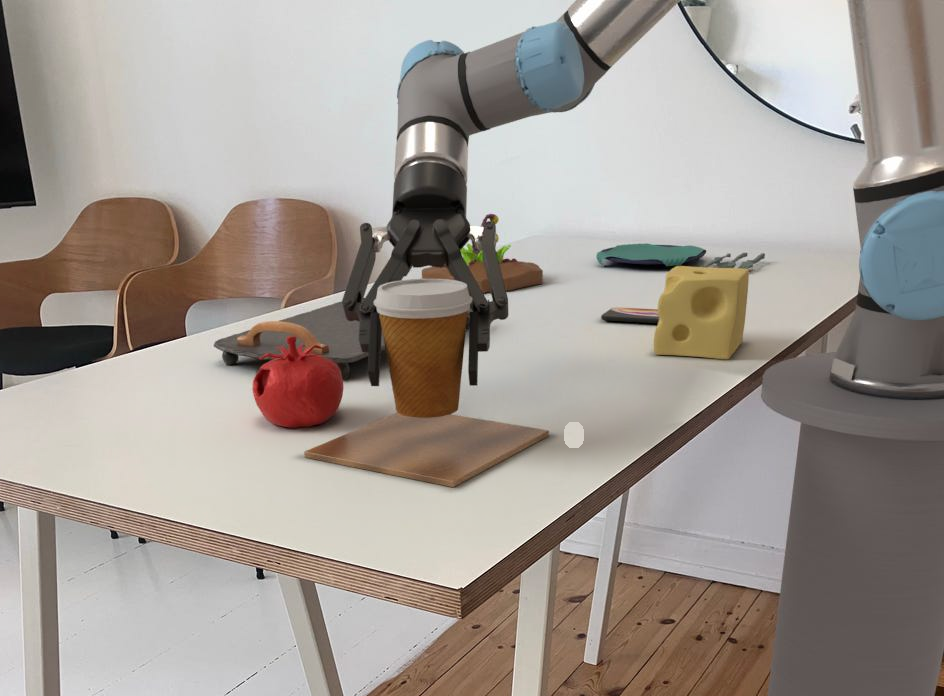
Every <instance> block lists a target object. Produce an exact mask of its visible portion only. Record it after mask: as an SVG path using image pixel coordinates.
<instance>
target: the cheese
mask: <svg viewBox="0 0 944 696" xmlns="http://www.w3.org/2000/svg"><path fill="white" fill-rule="evenodd" d="M749 277H750V268H748V269H742V268H738V267H734V268H718V267H703V266H689V265H687V266H686V265H678V266H674V267H673V268H671V269H670V270H669V271H667V273H666V275H665V284H664V290H663V292H662V293H661V294H660V296H659V298H658V304H657V309H658V315H659V322H658V323H657V324H656V327H655V329H654V337H653V351H654V355H659V356H680V357H681V356H682V357H695V358H707V359H708V358H709V359H718V360H729V359H730V358H731V357H732V356H733V355H734V353H735V352H736V351H737V349H738V348H739V346H740V345H741V344H742V343H743V338H744V331H745V323H746V313H747V305H748V304H747V303H748V292H749V279H750V278H749Z"/></svg>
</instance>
